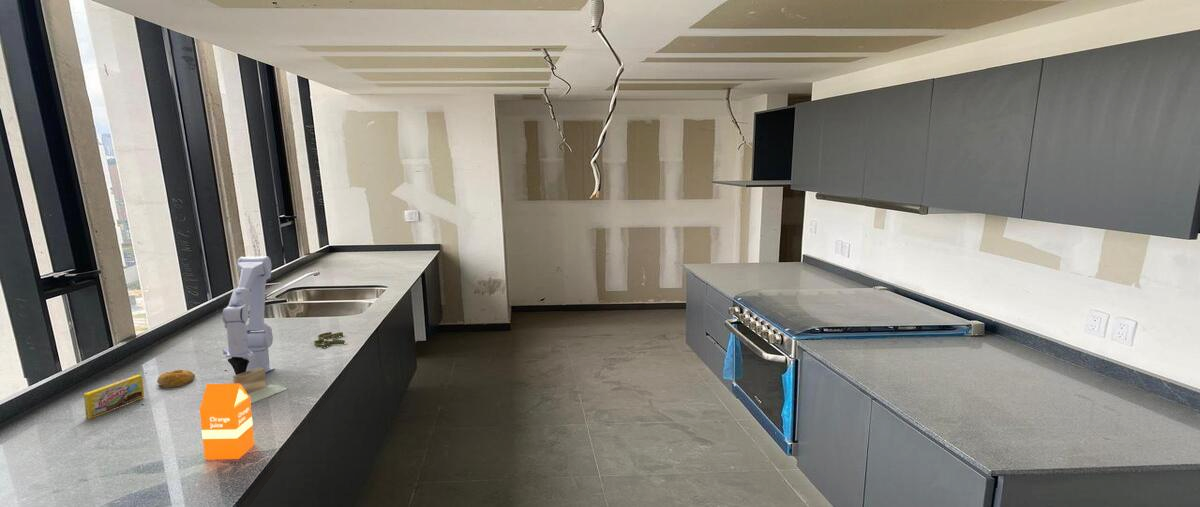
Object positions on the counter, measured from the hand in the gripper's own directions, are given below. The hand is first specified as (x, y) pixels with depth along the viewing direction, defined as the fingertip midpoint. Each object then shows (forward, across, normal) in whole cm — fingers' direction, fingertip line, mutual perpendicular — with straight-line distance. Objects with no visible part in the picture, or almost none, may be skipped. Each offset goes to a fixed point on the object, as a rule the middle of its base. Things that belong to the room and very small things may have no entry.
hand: (241, 376), depth 187 cm
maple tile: (+4, +5, 0) cm, 6 cm away
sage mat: (+4, +11, 0) cm, 11 cm away
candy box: (+5, -20, -27) cm, 34 cm away
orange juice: (+5, +39, -28) cm, 48 cm away
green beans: (+5, -16, +49) cm, 52 cm away
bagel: (+5, -26, -7) cm, 27 cm away
